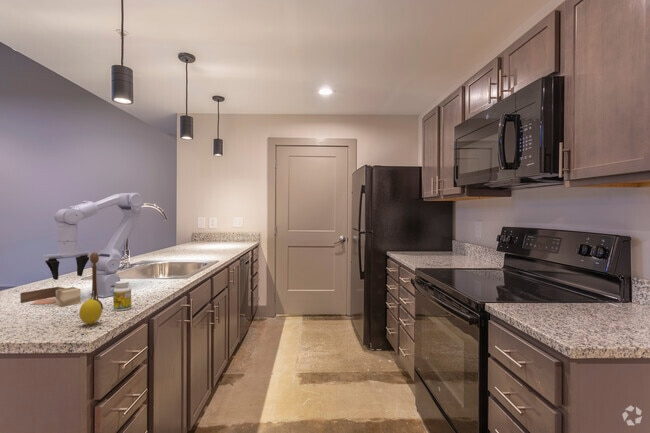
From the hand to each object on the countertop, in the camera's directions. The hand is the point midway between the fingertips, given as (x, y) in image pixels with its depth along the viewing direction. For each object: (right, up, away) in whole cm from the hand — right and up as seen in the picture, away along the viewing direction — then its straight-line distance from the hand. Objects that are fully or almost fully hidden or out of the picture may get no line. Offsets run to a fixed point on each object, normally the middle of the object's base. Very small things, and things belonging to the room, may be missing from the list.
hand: (68, 277), depth 124 cm
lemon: (+25, -10, -23) cm, 35 cm away
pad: (-9, -9, +2) cm, 13 cm away
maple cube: (+1, -10, -1) cm, 10 cm away
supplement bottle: (+24, -10, -7) cm, 27 cm away
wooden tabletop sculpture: (+15, -10, -7) cm, 19 cm away
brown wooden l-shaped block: (-9, -9, +2) cm, 13 cm away
